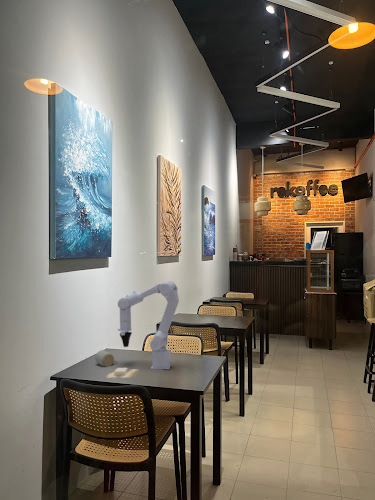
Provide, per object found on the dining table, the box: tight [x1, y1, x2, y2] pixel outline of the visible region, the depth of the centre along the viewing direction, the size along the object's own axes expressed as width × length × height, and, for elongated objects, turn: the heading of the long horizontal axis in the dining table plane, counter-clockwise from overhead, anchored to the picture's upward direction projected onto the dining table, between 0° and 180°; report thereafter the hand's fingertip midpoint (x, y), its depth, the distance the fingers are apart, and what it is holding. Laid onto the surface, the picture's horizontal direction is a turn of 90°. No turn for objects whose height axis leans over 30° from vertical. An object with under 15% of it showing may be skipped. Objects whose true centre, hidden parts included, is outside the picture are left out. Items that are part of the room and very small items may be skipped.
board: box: [104, 368, 141, 379], centre depth 194 cm, size 14×14×1 cm
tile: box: [114, 367, 129, 375], centre depth 194 cm, size 5×2×6 cm
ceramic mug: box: [95, 349, 118, 367], centre depth 212 cm, size 11×8×8 cm
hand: (126, 346), depth 211 cm, fingers closed
